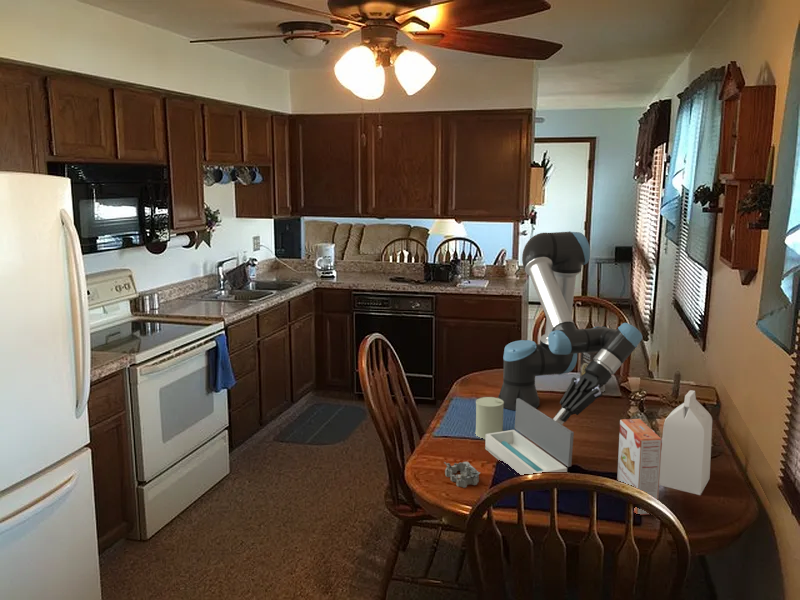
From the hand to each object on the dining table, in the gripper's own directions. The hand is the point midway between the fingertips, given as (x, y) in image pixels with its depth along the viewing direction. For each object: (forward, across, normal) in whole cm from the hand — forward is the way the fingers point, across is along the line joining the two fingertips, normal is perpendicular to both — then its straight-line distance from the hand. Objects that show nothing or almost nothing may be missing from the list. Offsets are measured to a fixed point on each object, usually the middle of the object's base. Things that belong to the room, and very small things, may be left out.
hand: (552, 427), depth 206 cm
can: (+13, +25, -2) cm, 29 cm away
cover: (+3, 0, +3) cm, 4 cm away
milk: (-11, -25, -27) cm, 38 cm away
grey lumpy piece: (+29, -1, +13) cm, 32 cm away
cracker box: (+3, -30, -12) cm, 33 cm away
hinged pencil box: (+14, 0, -1) cm, 14 cm away
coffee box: (-29, +52, -44) cm, 74 cm away
